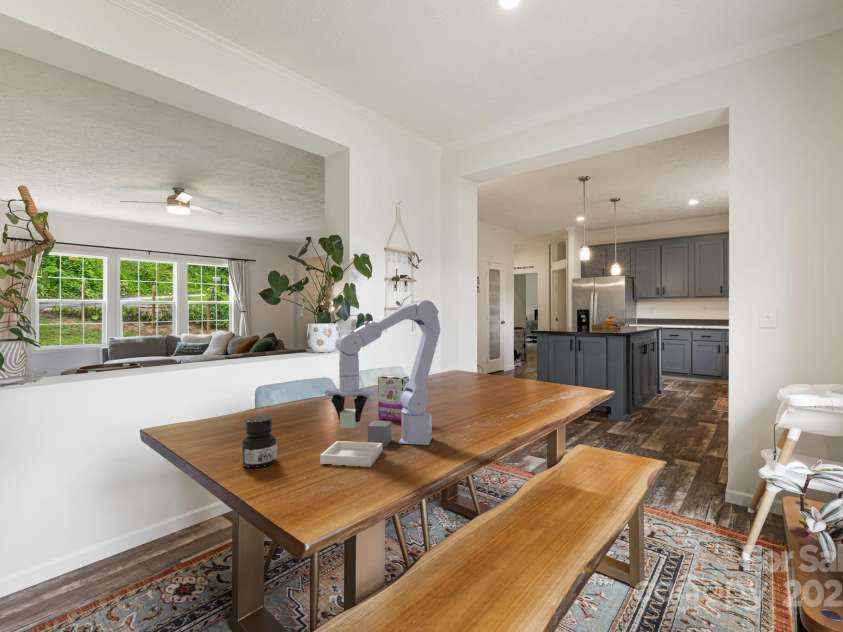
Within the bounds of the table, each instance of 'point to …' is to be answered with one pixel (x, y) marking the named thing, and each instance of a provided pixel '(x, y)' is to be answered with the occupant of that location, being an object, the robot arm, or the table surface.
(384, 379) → the candy bar box
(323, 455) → the tray
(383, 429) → the gray block
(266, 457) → the ink bottle
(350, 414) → the sage block
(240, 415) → the table surface
